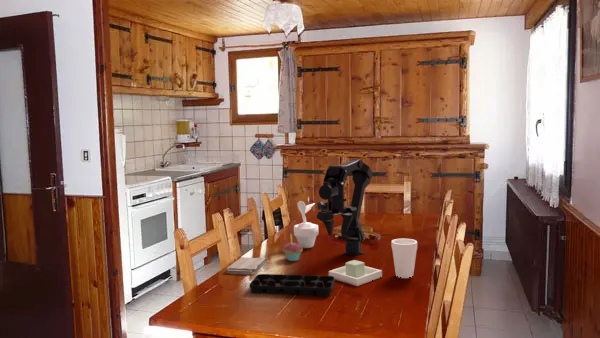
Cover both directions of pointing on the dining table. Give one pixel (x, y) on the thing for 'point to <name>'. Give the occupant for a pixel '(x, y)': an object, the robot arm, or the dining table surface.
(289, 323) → the dining table surface
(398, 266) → the foam cup
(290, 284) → the egg carton
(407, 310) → the dining table surface
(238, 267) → the washcloth
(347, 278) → the tray
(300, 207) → the potted plant
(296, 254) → the cupcake
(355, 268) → the cube
